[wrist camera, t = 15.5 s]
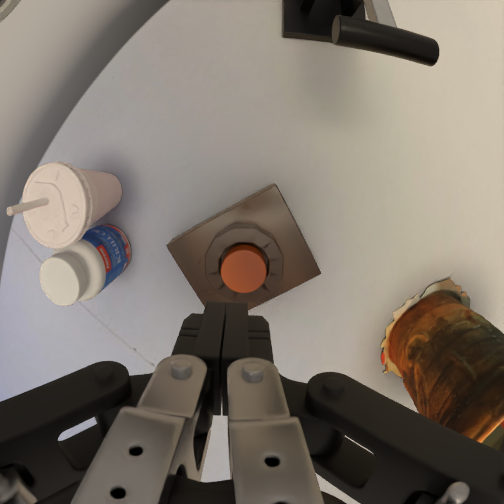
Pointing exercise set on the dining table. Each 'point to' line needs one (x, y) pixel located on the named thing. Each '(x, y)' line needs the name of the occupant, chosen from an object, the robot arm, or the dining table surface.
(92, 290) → the pill bottle
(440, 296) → the vessel
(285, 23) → the switch bracket
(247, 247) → the button
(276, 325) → the dining table surface
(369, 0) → the switch
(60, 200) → the smoothie
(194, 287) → the button block
